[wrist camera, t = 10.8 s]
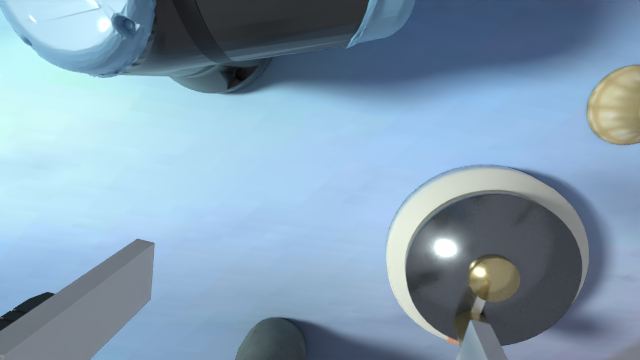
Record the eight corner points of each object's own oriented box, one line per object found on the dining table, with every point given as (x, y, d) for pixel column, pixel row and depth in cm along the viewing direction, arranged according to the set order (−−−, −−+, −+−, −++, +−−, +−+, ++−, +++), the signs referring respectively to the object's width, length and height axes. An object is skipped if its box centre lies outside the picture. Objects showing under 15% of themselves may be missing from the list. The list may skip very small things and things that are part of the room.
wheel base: (410, 146, 43) (414, 152, 40) (605, 187, 42) (625, 196, 38) (368, 306, 49) (368, 323, 46) (536, 348, 48) (549, 368, 44)
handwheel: (434, 170, 40) (460, 206, 28) (601, 216, 39) (699, 273, 27) (385, 309, 45) (390, 387, 33) (532, 353, 44) (590, 449, 32)
